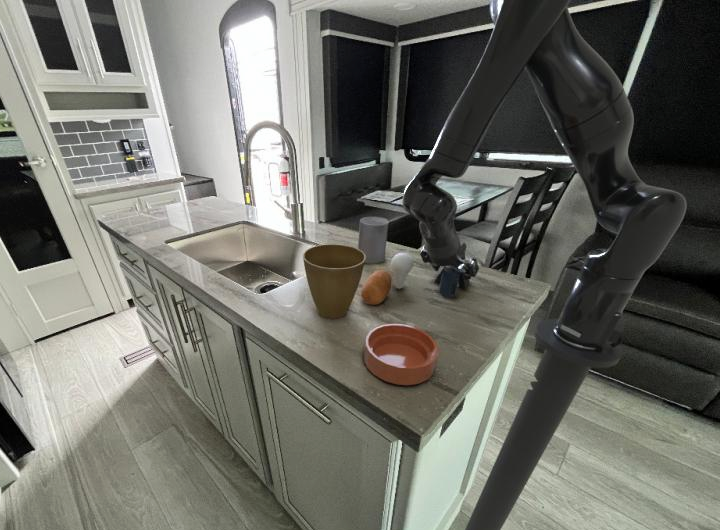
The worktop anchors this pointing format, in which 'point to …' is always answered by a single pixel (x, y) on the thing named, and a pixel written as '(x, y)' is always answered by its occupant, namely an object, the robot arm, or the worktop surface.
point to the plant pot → (333, 277)
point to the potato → (376, 287)
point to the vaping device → (449, 282)
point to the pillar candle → (373, 238)
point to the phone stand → (462, 282)
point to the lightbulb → (401, 268)
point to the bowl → (400, 354)
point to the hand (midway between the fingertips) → (452, 272)
